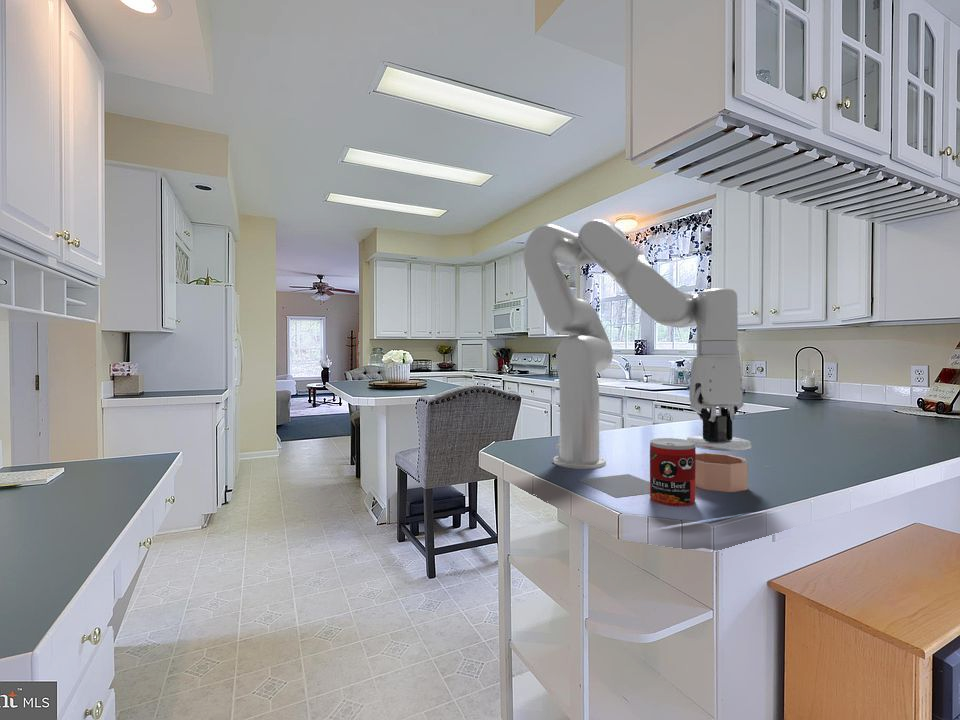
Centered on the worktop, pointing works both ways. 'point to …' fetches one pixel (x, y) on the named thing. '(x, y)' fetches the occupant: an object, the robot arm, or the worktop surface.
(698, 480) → the bowl
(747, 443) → the lid
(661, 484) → the canned food
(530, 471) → the worktop surface
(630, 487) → the plate
